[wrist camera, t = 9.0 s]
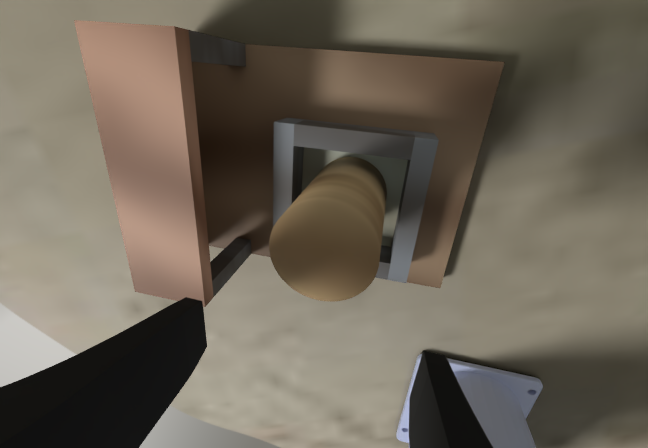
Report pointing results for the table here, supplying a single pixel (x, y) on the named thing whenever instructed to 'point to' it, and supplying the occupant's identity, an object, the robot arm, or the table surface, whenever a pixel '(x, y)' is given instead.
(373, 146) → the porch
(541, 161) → the table surface
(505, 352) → the table surface
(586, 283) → the table surface
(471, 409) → the robot arm
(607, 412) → the table surface
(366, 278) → the peg
